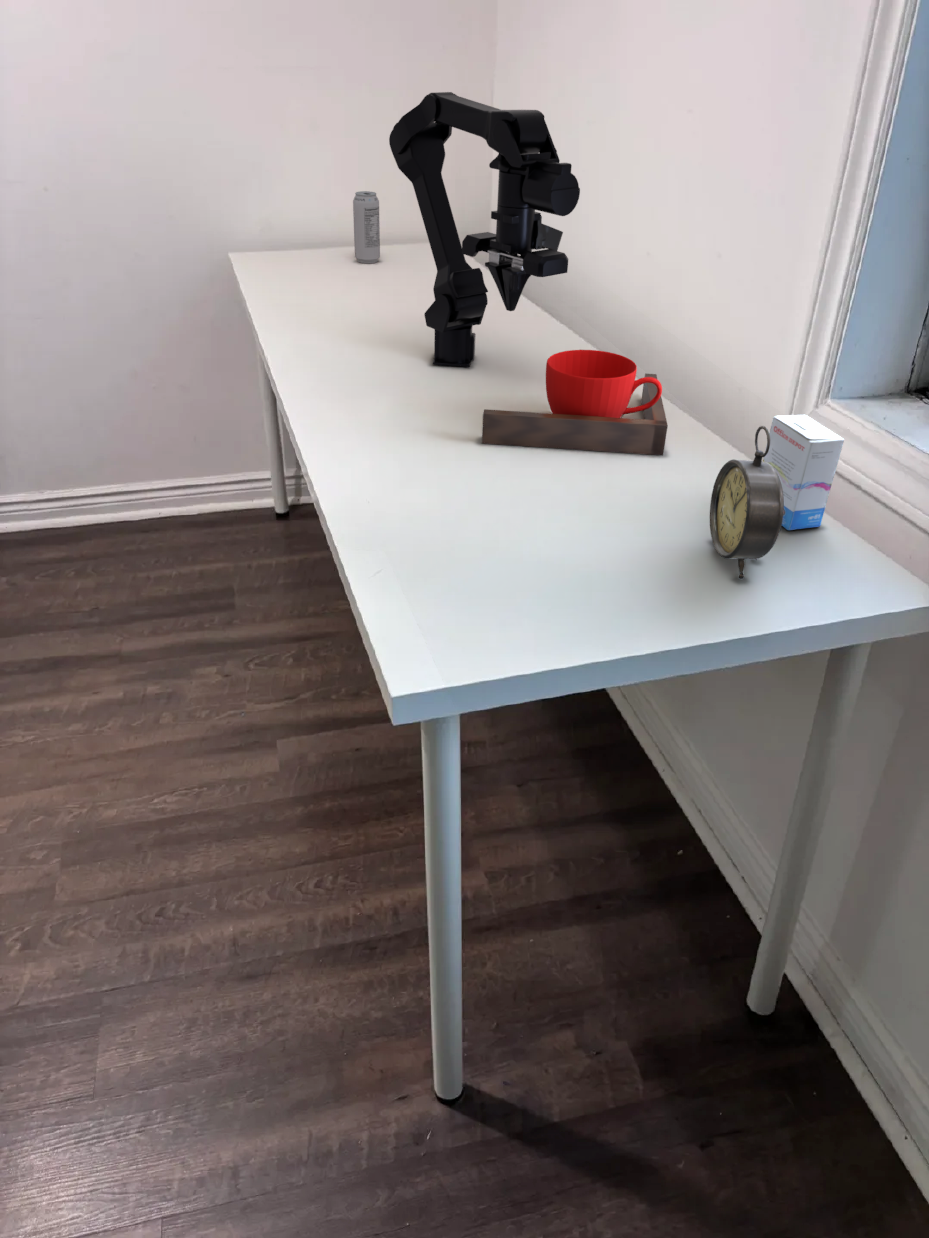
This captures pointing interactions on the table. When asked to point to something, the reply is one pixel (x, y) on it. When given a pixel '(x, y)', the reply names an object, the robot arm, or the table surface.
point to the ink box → (803, 467)
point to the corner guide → (581, 429)
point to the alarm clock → (746, 508)
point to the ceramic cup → (593, 384)
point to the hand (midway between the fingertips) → (510, 310)
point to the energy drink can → (366, 227)
